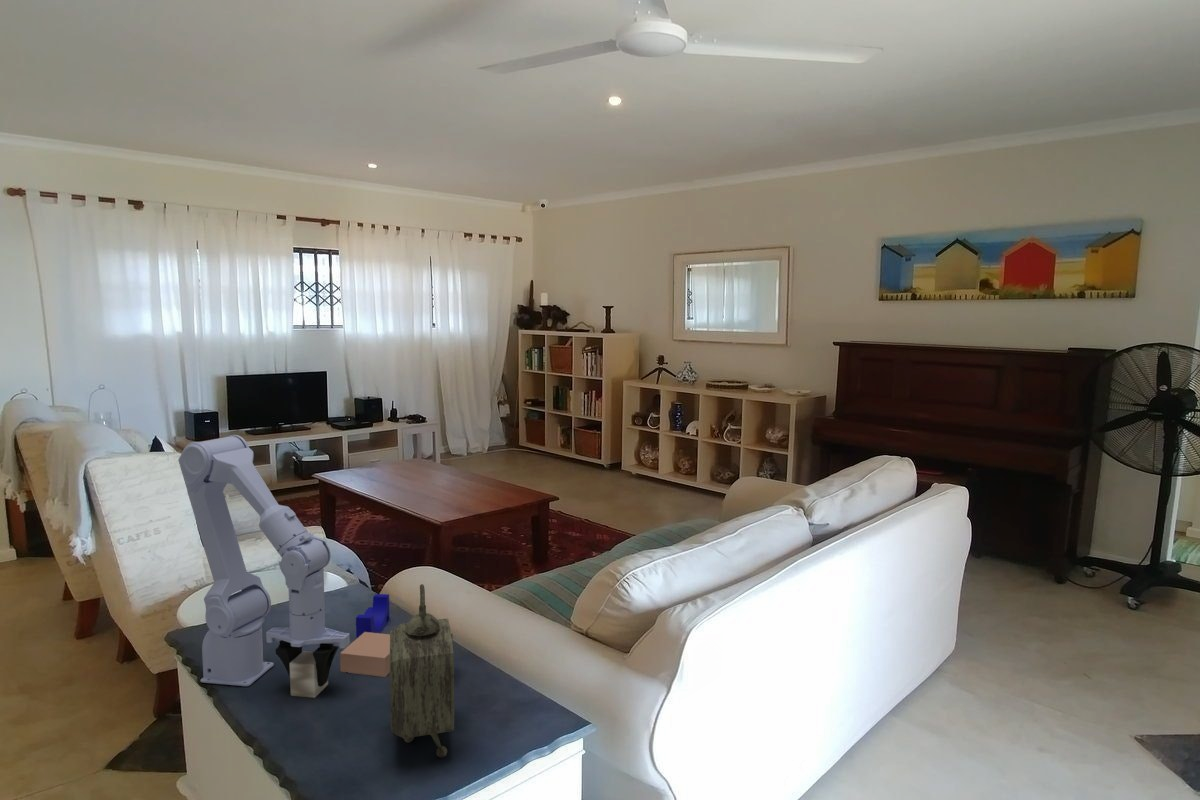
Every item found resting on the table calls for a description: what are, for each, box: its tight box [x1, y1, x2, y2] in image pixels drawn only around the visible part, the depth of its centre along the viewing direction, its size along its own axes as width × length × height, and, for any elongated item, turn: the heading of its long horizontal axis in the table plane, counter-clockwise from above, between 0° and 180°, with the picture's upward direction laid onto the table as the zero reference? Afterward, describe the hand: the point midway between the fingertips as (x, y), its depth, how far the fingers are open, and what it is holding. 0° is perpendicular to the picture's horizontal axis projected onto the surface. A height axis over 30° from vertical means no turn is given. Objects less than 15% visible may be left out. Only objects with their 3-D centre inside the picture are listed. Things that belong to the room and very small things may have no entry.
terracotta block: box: [339, 632, 390, 678], centre depth 132 cm, size 9×9×4 cm
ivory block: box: [289, 650, 329, 699], centre depth 122 cm, size 4×4×6 cm
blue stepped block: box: [355, 593, 391, 640], centre depth 145 cm, size 12×4×6 cm, turn 0°
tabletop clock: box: [389, 584, 455, 759], centre depth 107 cm, size 14×9×25 cm, turn 17°
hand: (309, 682), depth 122 cm, fingers closed on ivory block, 4 cm apart
